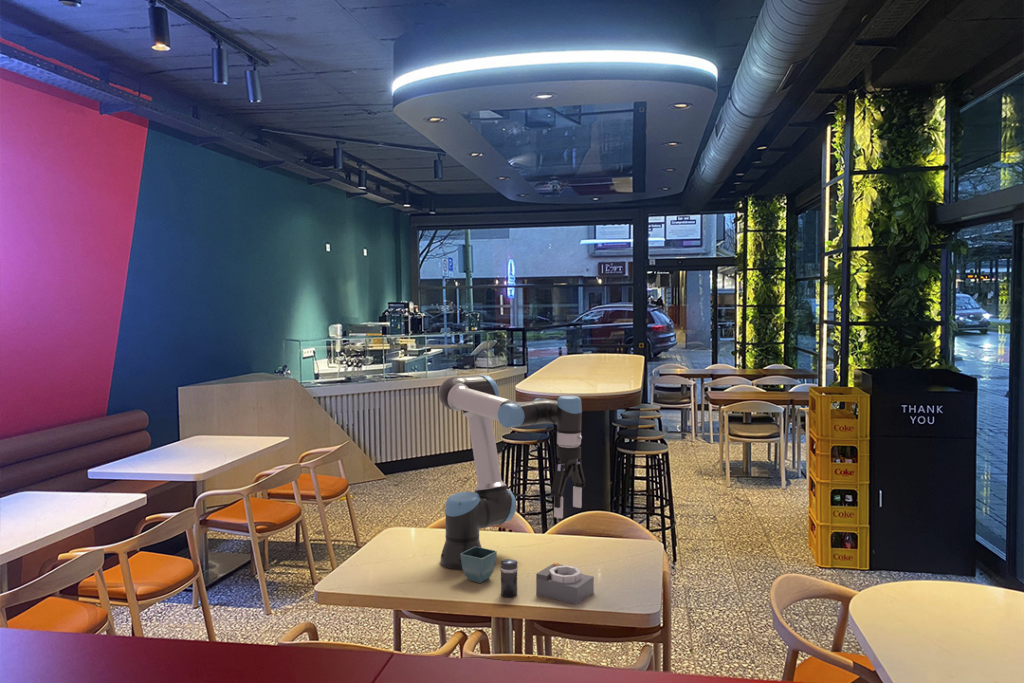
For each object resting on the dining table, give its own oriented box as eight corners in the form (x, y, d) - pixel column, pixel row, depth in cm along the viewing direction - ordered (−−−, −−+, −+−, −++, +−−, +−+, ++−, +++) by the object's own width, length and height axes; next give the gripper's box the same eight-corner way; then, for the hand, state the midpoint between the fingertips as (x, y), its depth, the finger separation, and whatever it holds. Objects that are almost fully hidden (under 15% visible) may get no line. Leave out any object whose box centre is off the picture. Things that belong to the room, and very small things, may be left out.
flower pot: (482, 586, 224) (482, 558, 223) (459, 581, 228) (459, 553, 228) (497, 578, 231) (497, 550, 231) (475, 572, 236) (475, 546, 235)
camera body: (536, 594, 217) (536, 570, 217) (554, 583, 227) (554, 560, 226) (576, 604, 210) (577, 580, 209) (593, 592, 219) (593, 569, 219)
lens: (497, 595, 217) (497, 562, 216) (506, 590, 221) (506, 557, 221) (511, 599, 214) (511, 565, 213) (520, 593, 218) (520, 560, 218)
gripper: (562, 453, 211) (561, 524, 212) (595, 440, 232) (594, 504, 233) (539, 450, 214) (538, 520, 215) (575, 438, 236) (574, 501, 237)
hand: (568, 512), depth 224 cm, fingers open, 13 cm apart
